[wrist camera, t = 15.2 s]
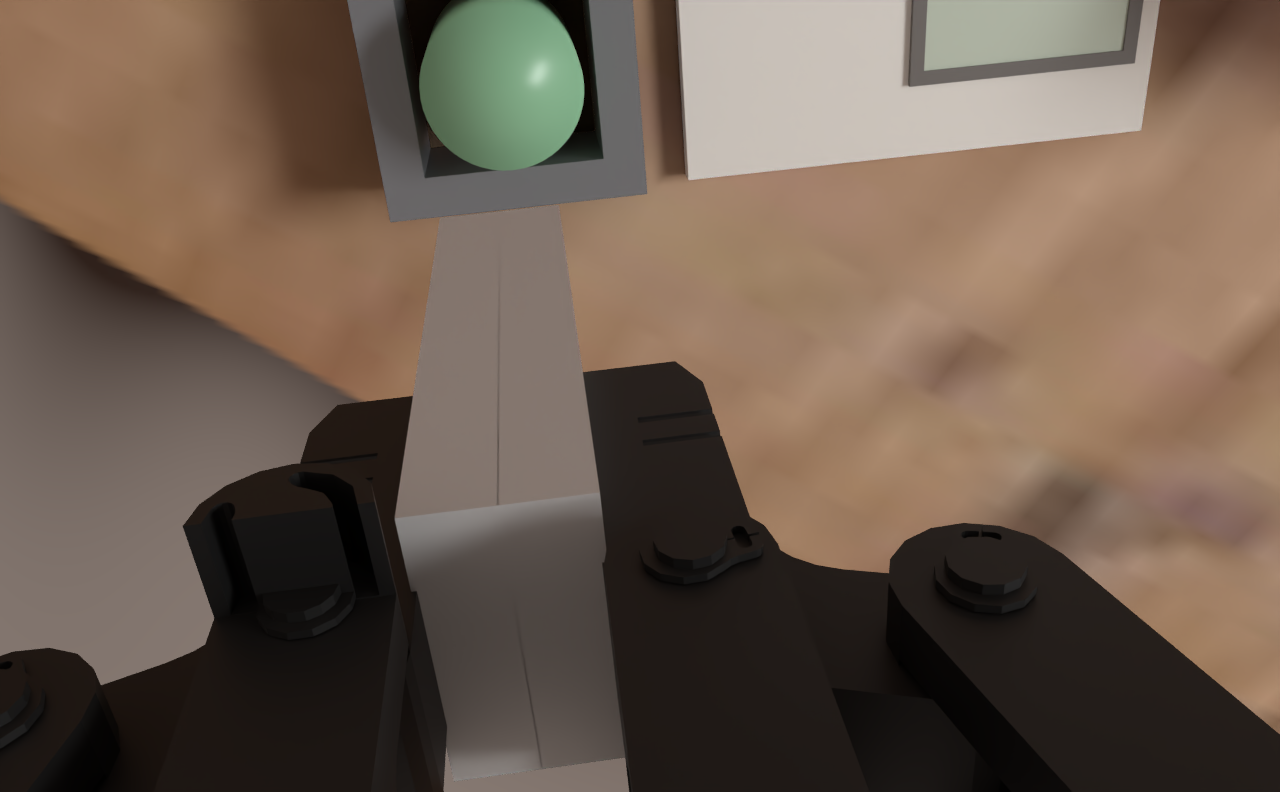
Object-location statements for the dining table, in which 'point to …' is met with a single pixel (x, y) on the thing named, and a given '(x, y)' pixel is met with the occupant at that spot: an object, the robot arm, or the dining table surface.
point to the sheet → (902, 77)
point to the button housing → (457, 187)
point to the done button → (501, 82)
